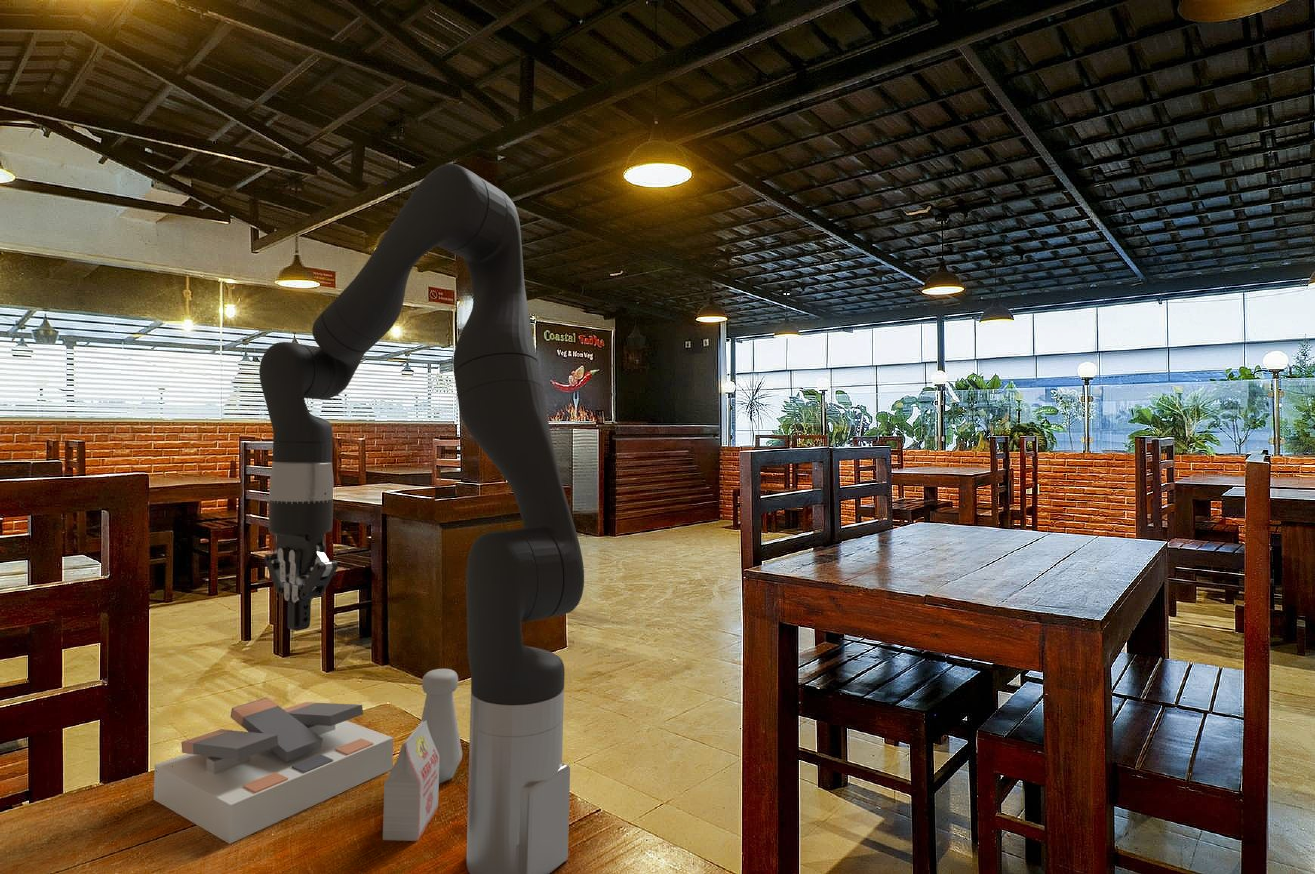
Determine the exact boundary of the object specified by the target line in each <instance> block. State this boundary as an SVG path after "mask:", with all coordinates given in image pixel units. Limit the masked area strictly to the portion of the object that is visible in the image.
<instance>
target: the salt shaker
mask: <svg viewBox="0 0 1315 874" xmlns="http://www.w3.org/2000/svg"><path fill="white" fill-rule="evenodd" d="M421 685H422V686H421V687H422V691H423V692H424V694H426V695H425V696H426V697H425V701H424V706H423V711H422V714H421V715H422V716H421V719H420V723H421V722H422V721H423V722H424V721H426V720H427V726H428V729H429V732H430V735H431V738H432V740H433V742H434V744H435V747H436V749H437V751H438V754H439V784H443V783H445V782H447V781H449V780H451V779H453V778H454V776H455V774H456V771H457V769H458V767H459V766H460V763H461V761H462V760H463V749H462V745H461V739H460V732H459V726H458V722H457V720H458V719H457V716H456V715H457V714H456V713H457V712H456V706H455V700H454V693H453V692H456V690H458V687H459V675H458V674H457V672H456V671H455V670H453V669H450V668H436V669H432V670H429V671H428V672H426V673H425V674H424V676H422V681H421Z"/></svg>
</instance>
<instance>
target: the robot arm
mask: <svg viewBox="0 0 1315 874" xmlns="http://www.w3.org/2000/svg"><path fill="white" fill-rule="evenodd" d="M522 245H523V243H522V233H521V224H520V218H519V213H518V210H517V208H516V205H515V203H514V201H512V199H511V198H510V197H509V196H508V194H507V193H505V192H504V191H503V190H502V189H499V187H498V186H495V185H493V184H492V183H491V182H488V181H487V180H485V179H484V178H482V177H481V176H479V175H477V174H476V173H474V172H473V171H471V170H469V169H467V168H466V167H464V166H461V165H460V164H456V163H455V164H454V163H446V164H441V165H439V166H437V167H436V168H435V169H433V170H432V171H430V172H429V173H428V174H427V175H426V176H424V178H423V179H422V180H421V182H419V184H418V185H417V186H416V188H415V189H414V191H413V192H412V193H411V194H410V196H409V197H408V199H407V200H406V201H405V203H404V205H403V206H402V208H401V209H400V211H399V213H397V215H396V217H395V218H394V220H393V221H392V223H391V224H390V225H389V227H388V229H387V230H386V232H385V233H384V235H383V236H382V238H381V240H380V241H379V243H378V244H377V246H376V247H375V249H374V251H373V252H372V254H371V255H370V257H369V258H368V259H367V261H366V263H365V264H364V266H363V267H362V268H361V270H359V272H358V274H356V276H355V277H354V279H353V280H351V282H349V285H347V286H346V287H345V289H344V290H343V291H341V292H340V294H338V296H337V297H335V298H334V300H332V301H331V303H330V304H328V306H327V307H326V308H325V309H324V310H323V311H322V312H321V313H320V314H319V315H318V316H317V318H316V319H315V320H314V322H313V324H312V328H311V329H312V330H311V331H312V332H311V333H312V338H313V340H314V341H315V343H316V344H317V345H316V346H315V345H309V344H302V343H297V342H292V341H291V342H290V341H280V342H276V343H273V344H272V345H270V346H269V347H268V348H267V349H266V351H265V352H264V354H263V355H262V357H261V360H260V363H259V369H258V370H259V382H260V386H261V387H260V388H261V389H262V393H263V396H264V401H265V403H266V408H267V412H268V416H269V420H270V423H271V427H272V433H273V437H272V438H273V439H272V467H271V472H270V477H269V492H268V493H269V494H268V495H269V502H268V532H269V533H270V534H271V535H275V536H277V540H276V542H275V550H274V551H273V552H272V553H268V554H265V556H264V563H265V565H266V568H267V570H268V573H269V575H270V577H271V578H270V579H271V580H272V583H273V585H274V588H275V591H276V593H277V594H278V595H283V598H284V600H285V601H287V616H286V617H287V618H286V619H287V629H289V630H292V631H295V632H299V631H304V630H307V629H309V627H310V626H311V611H312V607H311V606H312V600H314V599H315V598H318V597H322V596H323V594H324V592H326V591H325V590H326V589H327V587H328V586H329V583H330V582H331V580H332V579H333V576H334V575H335V573H336V571H337V570H338V567H339V564H338V561H337V560H329V558H328V557H327V555H326V552H327V546H326V541H325V535H326V534H328V533H330V532H331V531H332V530H333V525H334V524H333V520H334V512H333V511H334V487H335V486H334V485H335V483H334V481H335V480H334V478H335V477H334V472H333V445H334V444H333V442H334V441H333V437H334V435H333V427H332V423H331V422H330V421H328V420H327V419H325V418H323V417H322V418H321V417H318V416H315V415H313V414H312V413H311V412H310V411H309V409H308V406H307V404H306V403H307V402H306V400H305V399H307V400H308V399H309V400H310V399H311V400H328V399H331V398H334V397H336V396H338V395H339V394H341V393H342V392H343V391H345V390H346V388H347V387H348V386H349V384H350V383H351V380H352V379H353V377H354V374H355V373H356V371H357V369H358V367H359V365H360V363H361V361H362V359H363V357H364V356H365V354H366V353H368V351H370V350H371V349H372V347H374V346H375V345H376V344H377V343H378V342H379V341H380V340H381V339H382V338H383V337H384V336H386V334H387V333H389V331H390V330H391V329H392V328H393V327H394V325H395V324H396V322H397V321H398V319H399V317H400V314H401V313H402V310H403V306H404V300H405V296H406V288H407V284H408V279H409V276H410V273H411V271H412V269H413V268H414V266H415V265H416V264H417V262H419V260H420V259H421V258H422V257H423V256H425V255H426V254H427V253H428V252H430V251H431V250H433V249H435V248H436V247H439V248H440V249H442V250H445V251H446V252H447V251H448V252H449V253H451V254H453V255H455V256H458V257H460V258H462V259H463V260H464V262H465V264H466V266H467V269H468V272H469V277H470V282H471V290H472V309H471V312H470V314H469V316H468V319H467V321H466V323H465V324H464V326H463V328H462V330H461V332H460V335H459V337H458V339H457V341H456V345H455V348H454V352H453V359H452V368H453V375H454V376H453V377H454V383H455V388H456V389H455V390H456V395H457V402H458V408H459V414H460V417H461V419H462V422H463V424H464V426H465V427H466V429H467V431H468V432H469V434H470V435H471V436H472V438H473V439H474V440H475V442H476V443H477V444H478V446H479V447H480V449H481V450H482V451H483V452H484V454H485V455H486V456H487V457H488V459H490V461H491V462H492V464H493V465H494V466H495V467H496V468H497V470H498V471H499V472H500V473H501V475H502V476H503V477H504V479H505V480H506V482H507V483H508V486H509V487H510V489H511V491H512V494H513V496H514V498H515V500H516V504H517V508H518V510H519V513H520V514H519V515H520V517H521V520H522V526H523V528H519V529H517V528H515V529H504V530H493V531H488V532H484V533H483V534H481V535H479V536H478V537H477V538H476V539H475V540H474V542H473V544H472V545H471V547H470V550H469V552H468V557H467V562H466V569H465V570H466V572H465V600H466V602H465V603H466V627H467V628H466V629H467V633H466V635H467V640H466V641H467V645H466V646H467V648H466V650H467V659H468V665H469V670H470V671H469V672H470V681H471V682H470V711H469V712H470V715H469V716H470V718H469V719H470V720H469V743H468V744H469V753H468V755H469V756H468V787H467V788H468V789H467V790H468V791H467V792H468V793H467V822H466V823H467V827H466V828H467V831H466V868H467V872H468V873H469V874H550V873H552V872H553V871H554V870H556V869H557V868H559V866H561V865H562V864H563V863H564V862H566V861H567V860H569V829H570V828H569V825H570V791H571V790H570V789H571V788H570V787H571V785H570V784H571V783H570V782H571V767H570V766H569V765H568V764H566V763H563V747H564V746H563V742H564V741H563V740H564V739H563V738H564V736H563V735H564V702H565V701H564V700H565V699H564V698H565V676H566V675H565V673H566V672H565V664H564V661H563V660H562V658H561V657H560V656H559V655H557V654H556V653H553V652H552V651H550V650H546V649H542V648H537V647H533V646H528V645H527V646H526V645H524V641H523V632H522V624H523V623H526V622H533V621H539V620H544V619H547V618H553V617H559V616H563V615H566V614H567V615H568V614H570V613H571V612H573V611H574V610H575V609H576V608H577V606H578V605H579V603H580V602H581V599H582V597H583V592H584V587H585V569H584V560H583V559H584V558H583V555H582V549H581V545H580V542H579V538H578V535H577V534H578V533H577V530H576V526H575V523H574V519H573V517H572V512H571V509H570V506H569V502H568V499H567V495H566V492H565V488H564V486H563V481H562V478H561V475H560V470H559V466H558V462H557V457H556V452H555V447H554V442H553V439H552V438H553V437H552V434H551V429H550V428H551V427H550V422H549V418H548V412H547V405H546V399H545V398H546V397H545V391H544V385H543V379H542V374H541V368H540V365H539V358H538V354H537V350H536V346H535V341H534V336H533V330H532V323H531V318H530V311H529V305H528V299H527V294H526V292H527V291H526V285H525V284H526V283H525V274H524V259H523V246H522Z"/></svg>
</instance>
